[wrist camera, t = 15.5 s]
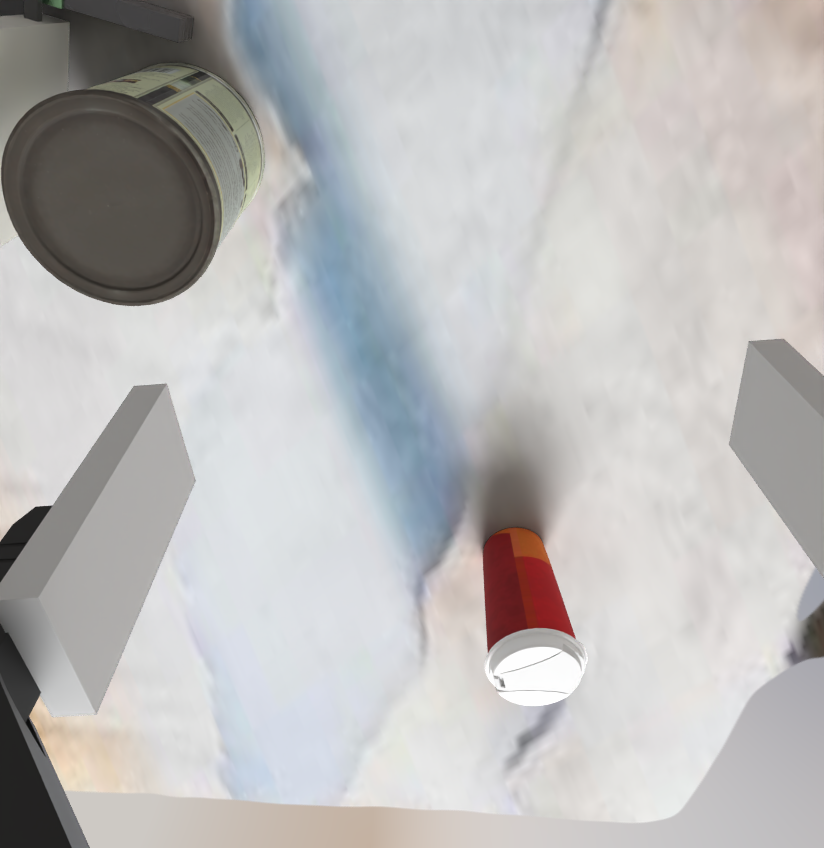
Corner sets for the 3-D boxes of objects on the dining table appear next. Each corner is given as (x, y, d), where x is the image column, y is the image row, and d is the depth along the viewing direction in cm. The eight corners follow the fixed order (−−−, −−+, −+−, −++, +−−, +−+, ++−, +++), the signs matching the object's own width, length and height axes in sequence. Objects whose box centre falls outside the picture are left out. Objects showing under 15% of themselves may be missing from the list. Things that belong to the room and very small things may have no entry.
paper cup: (478, 587, 67) (494, 716, 55) (464, 526, 63) (478, 651, 51) (561, 573, 66) (595, 702, 54) (551, 510, 62) (586, 634, 50)
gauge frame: (193, 16, 42) (133, 24, 33) (169, 248, 49) (115, 309, 40) (-113, -79, 39) (-273, -100, 30) (-90, 181, 47) (-213, 229, 38)
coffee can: (184, 256, 50) (114, 341, 38) (72, 125, 45) (-48, 176, 33) (299, 172, 47) (262, 236, 35) (192, 24, 42) (108, 39, 30)
